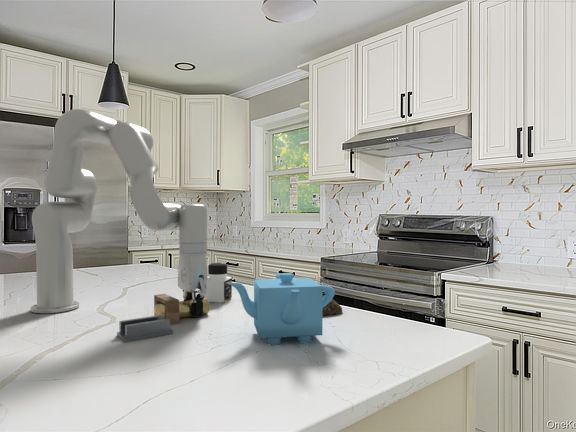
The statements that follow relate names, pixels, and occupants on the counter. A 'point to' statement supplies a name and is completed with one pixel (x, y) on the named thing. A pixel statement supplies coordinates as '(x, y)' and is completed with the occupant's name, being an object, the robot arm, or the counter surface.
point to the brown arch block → (168, 307)
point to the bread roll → (331, 308)
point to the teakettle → (286, 307)
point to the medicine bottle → (218, 283)
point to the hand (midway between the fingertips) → (193, 314)
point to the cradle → (143, 328)
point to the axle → (182, 308)
